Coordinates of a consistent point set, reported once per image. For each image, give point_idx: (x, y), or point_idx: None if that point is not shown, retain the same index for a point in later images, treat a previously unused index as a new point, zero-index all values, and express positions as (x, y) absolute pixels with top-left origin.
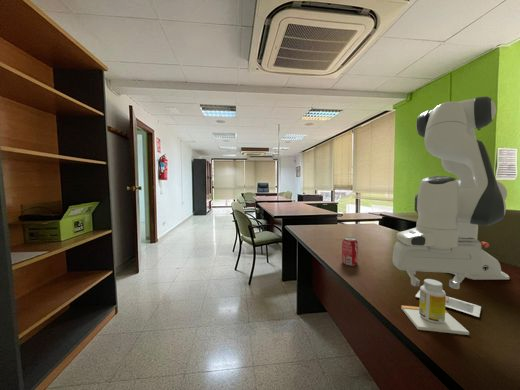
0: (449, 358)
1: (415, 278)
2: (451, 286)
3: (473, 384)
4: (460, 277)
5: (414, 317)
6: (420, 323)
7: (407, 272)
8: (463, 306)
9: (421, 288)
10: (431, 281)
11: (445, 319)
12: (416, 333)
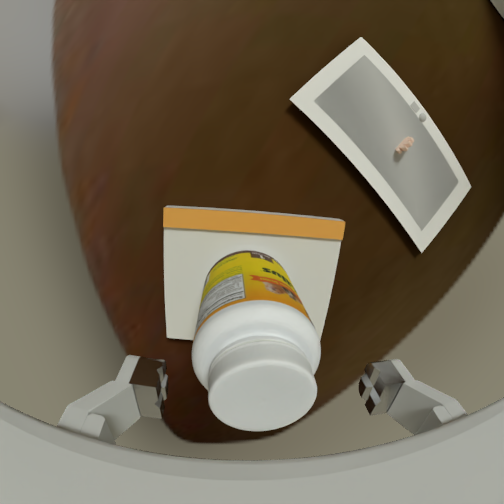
0: (196, 410)
1: (129, 426)
2: (367, 377)
3: (202, 443)
4: (415, 432)
5: (178, 290)
6: (183, 322)
7: (77, 405)
8: (429, 186)
9: (193, 358)
10: (257, 397)
11: (296, 289)
12: (157, 347)
